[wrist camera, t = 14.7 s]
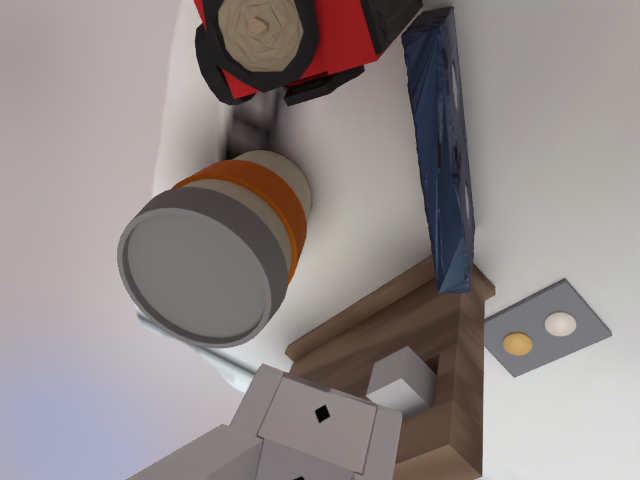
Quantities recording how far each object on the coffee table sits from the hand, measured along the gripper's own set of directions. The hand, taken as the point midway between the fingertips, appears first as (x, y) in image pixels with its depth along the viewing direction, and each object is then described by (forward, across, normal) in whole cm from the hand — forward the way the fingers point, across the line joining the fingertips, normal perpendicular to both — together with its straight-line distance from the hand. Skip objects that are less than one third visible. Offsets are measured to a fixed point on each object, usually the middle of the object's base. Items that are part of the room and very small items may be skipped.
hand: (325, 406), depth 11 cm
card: (+34, +16, -21) cm, 43 cm away
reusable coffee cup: (+34, -12, -16) cm, 40 cm away
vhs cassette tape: (+35, +2, -5) cm, 35 cm away
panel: (+34, +2, -26) cm, 43 cm away
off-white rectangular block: (+21, +6, -20) cm, 30 cm away
